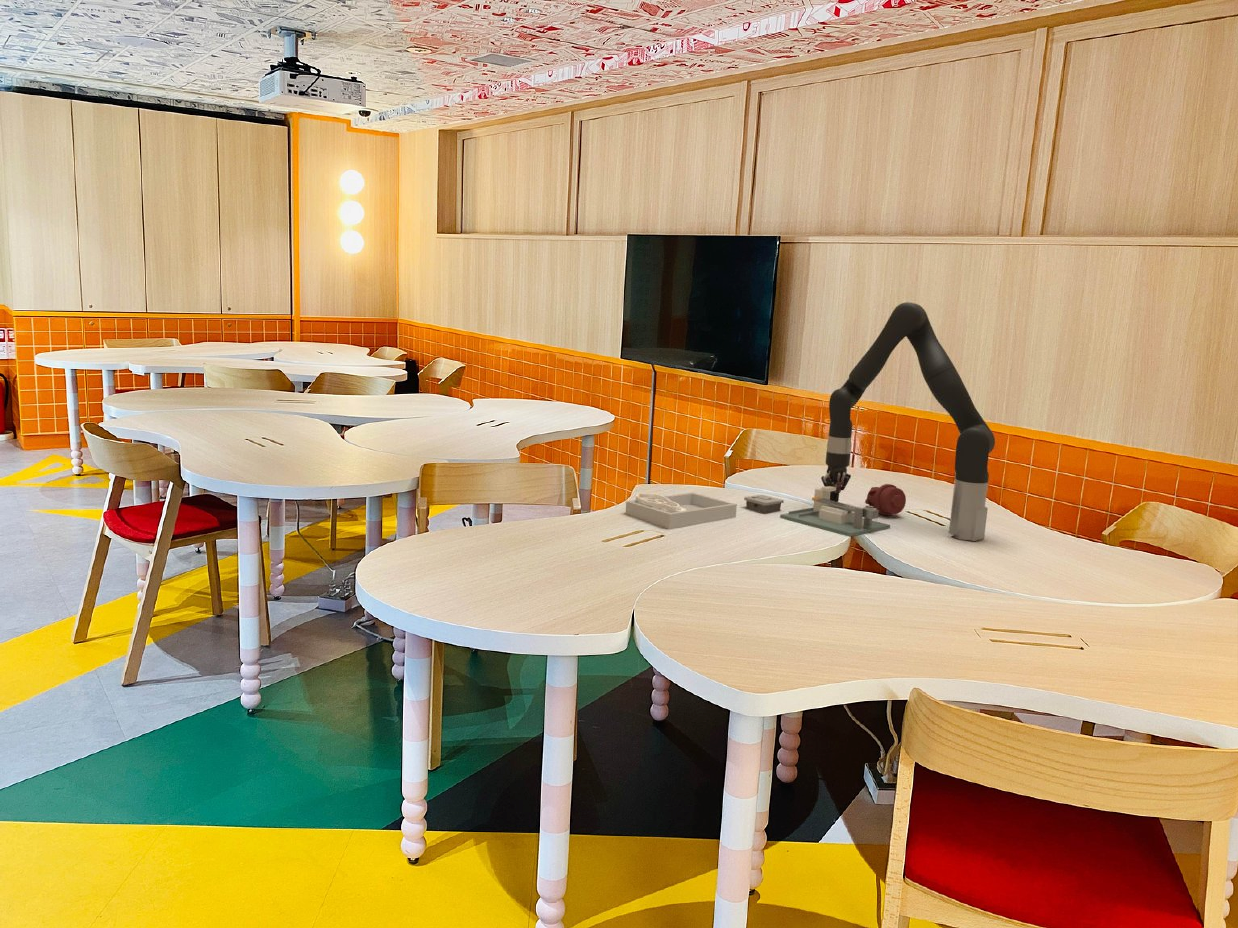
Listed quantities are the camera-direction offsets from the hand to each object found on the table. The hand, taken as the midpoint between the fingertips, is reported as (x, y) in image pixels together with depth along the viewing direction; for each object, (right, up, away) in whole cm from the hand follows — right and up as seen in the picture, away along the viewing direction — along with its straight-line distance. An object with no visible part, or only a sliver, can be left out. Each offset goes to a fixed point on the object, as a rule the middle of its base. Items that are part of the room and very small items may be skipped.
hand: (833, 503), depth 300 cm
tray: (-50, -3, -18) cm, 53 cm away
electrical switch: (-26, -3, -6) cm, 27 cm away
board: (-3, -5, -15) cm, 16 cm away
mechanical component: (+16, -4, 0) cm, 17 cm away
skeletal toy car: (-57, -5, -21) cm, 61 cm away
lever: (-1, -1, -18) cm, 18 cm away
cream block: (-5, -2, -4) cm, 7 cm away
